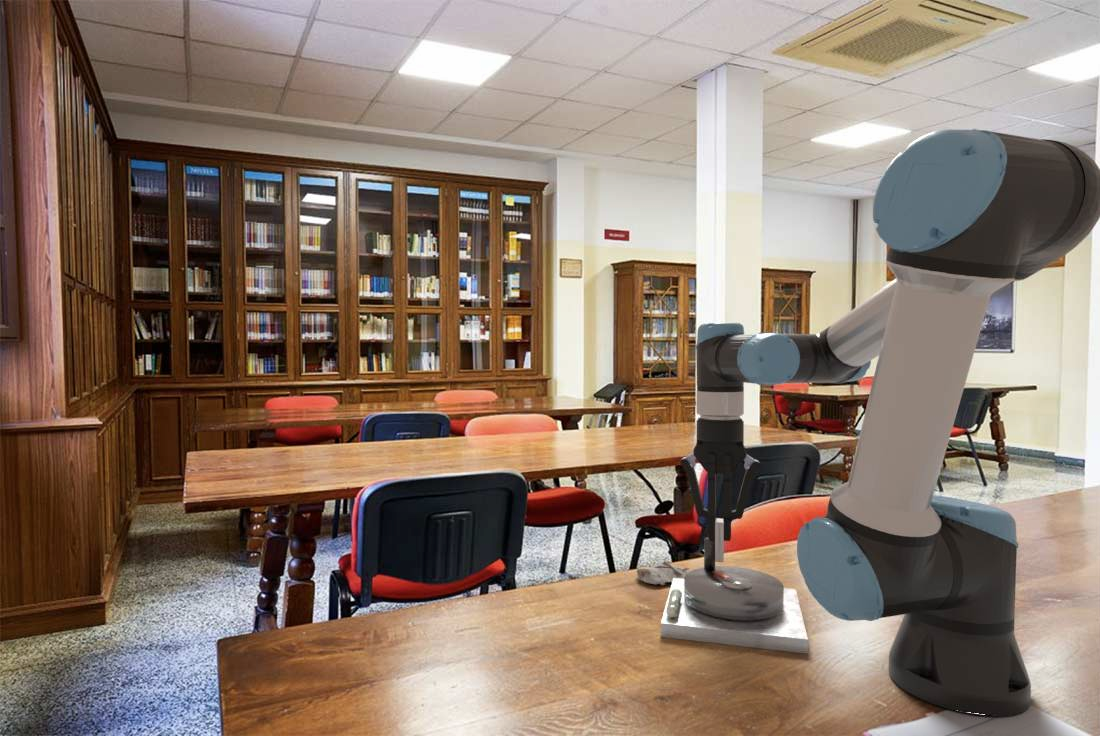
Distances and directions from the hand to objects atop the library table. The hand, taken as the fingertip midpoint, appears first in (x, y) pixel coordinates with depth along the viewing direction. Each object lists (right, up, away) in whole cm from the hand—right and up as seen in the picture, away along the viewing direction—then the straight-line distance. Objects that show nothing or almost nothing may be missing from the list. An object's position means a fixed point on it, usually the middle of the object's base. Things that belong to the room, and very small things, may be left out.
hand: (719, 559), depth 112 cm
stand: (0, -7, -7) cm, 10 cm away
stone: (-7, -7, +11) cm, 15 cm away
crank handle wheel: (+1, -5, -6) cm, 8 cm away
